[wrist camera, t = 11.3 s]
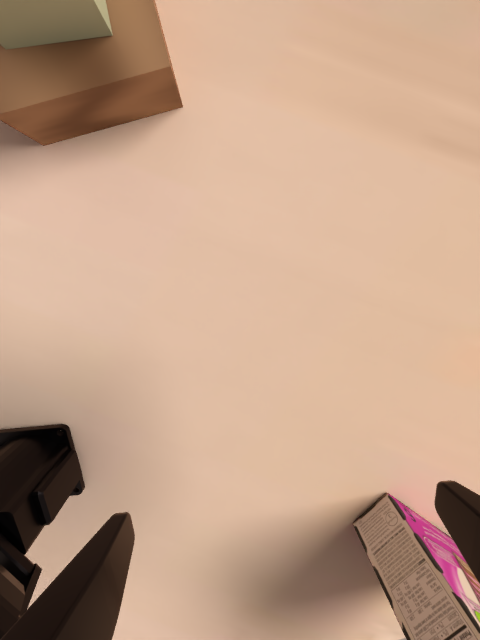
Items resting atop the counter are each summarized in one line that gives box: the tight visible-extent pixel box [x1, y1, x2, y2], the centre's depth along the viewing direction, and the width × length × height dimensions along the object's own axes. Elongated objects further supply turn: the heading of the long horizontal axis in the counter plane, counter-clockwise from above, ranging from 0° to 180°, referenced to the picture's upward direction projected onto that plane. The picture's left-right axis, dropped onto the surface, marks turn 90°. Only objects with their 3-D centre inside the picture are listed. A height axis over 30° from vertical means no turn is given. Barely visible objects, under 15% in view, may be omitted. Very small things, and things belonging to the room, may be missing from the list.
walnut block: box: [0, 0, 183, 146], centre depth 14 cm, size 9×9×4 cm
